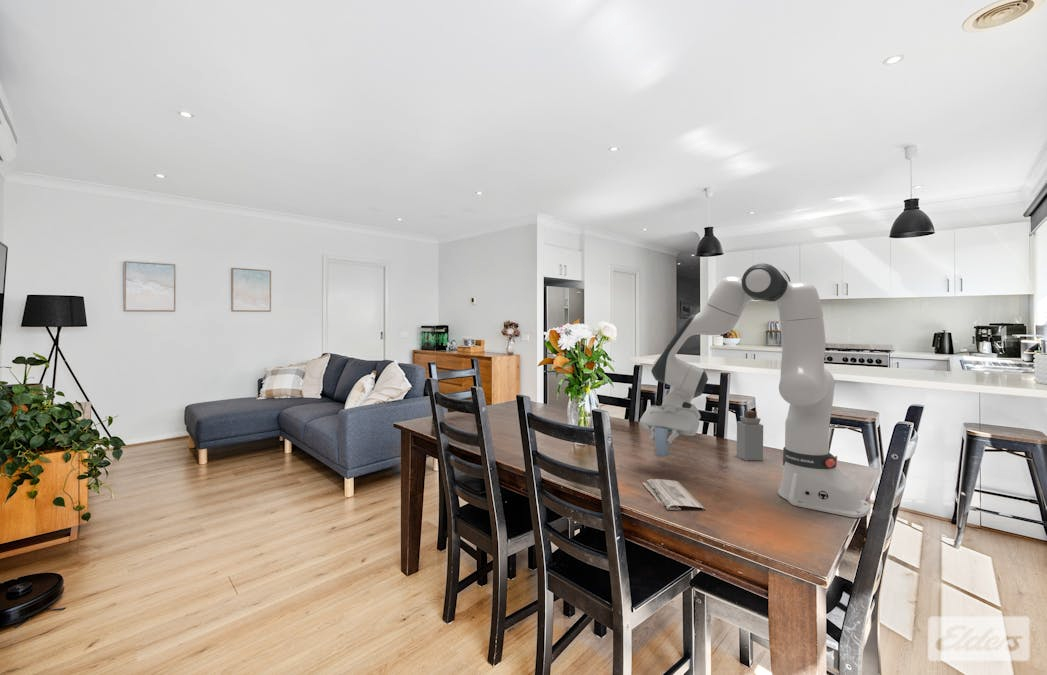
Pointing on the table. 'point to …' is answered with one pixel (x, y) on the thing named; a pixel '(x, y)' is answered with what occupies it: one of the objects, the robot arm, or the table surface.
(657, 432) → the blue peg
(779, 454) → the table surface
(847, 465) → the table surface
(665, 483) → the newspaper
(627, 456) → the table surface
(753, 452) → the perfume bottle
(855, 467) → the table surface
